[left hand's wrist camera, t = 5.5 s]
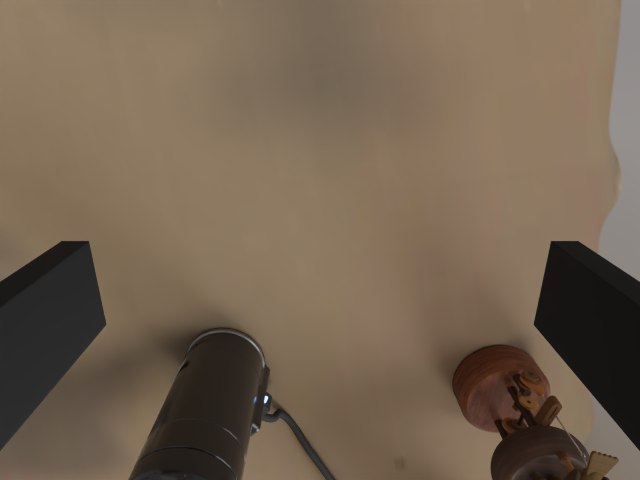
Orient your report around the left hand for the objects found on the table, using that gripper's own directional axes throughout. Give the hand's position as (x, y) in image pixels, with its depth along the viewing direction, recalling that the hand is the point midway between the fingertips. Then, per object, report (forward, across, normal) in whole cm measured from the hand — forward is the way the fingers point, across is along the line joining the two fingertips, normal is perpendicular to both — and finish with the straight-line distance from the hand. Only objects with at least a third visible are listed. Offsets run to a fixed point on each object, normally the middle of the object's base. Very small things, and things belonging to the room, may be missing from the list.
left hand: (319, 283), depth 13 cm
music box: (+32, +22, -31) cm, 50 cm away
